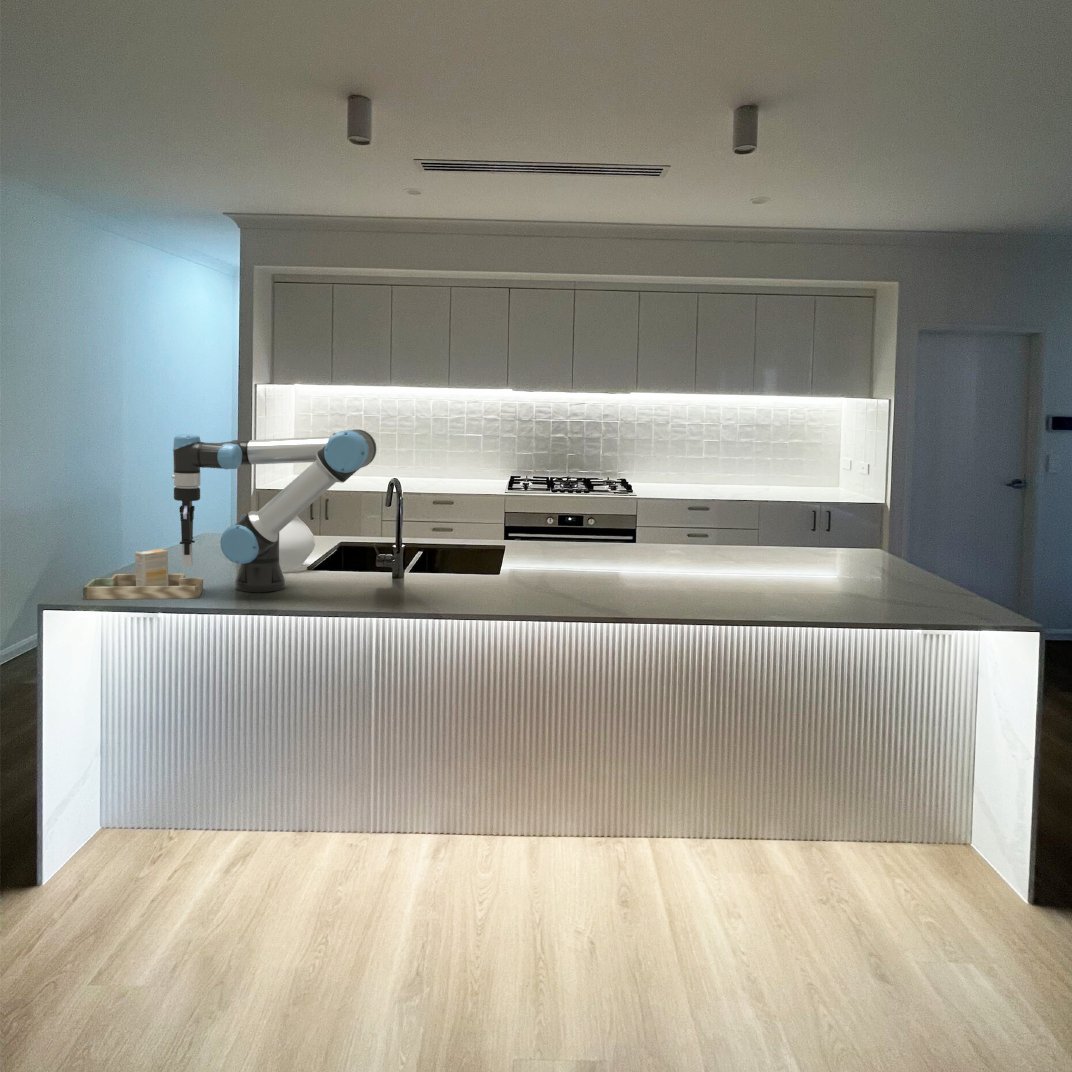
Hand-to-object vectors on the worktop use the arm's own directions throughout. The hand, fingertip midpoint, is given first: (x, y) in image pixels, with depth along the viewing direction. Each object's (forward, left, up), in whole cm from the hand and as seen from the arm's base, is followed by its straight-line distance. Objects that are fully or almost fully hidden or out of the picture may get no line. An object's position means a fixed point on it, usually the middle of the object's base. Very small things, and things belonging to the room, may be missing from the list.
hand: (187, 564), depth 323 cm
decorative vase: (-29, -41, -9) cm, 51 cm away
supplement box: (+10, 0, -9) cm, 14 cm away
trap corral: (+12, -3, -9) cm, 15 cm away
